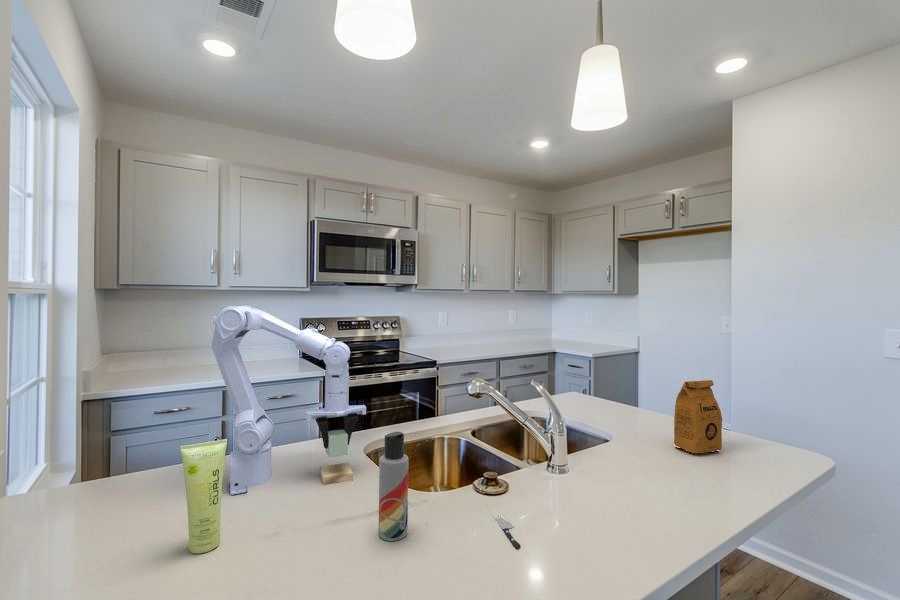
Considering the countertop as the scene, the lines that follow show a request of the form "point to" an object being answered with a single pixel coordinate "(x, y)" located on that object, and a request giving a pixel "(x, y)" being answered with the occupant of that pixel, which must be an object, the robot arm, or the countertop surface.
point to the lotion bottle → (393, 489)
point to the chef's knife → (507, 531)
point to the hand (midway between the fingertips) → (336, 445)
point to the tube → (204, 492)
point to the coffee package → (697, 418)
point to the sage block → (337, 443)
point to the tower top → (336, 473)
